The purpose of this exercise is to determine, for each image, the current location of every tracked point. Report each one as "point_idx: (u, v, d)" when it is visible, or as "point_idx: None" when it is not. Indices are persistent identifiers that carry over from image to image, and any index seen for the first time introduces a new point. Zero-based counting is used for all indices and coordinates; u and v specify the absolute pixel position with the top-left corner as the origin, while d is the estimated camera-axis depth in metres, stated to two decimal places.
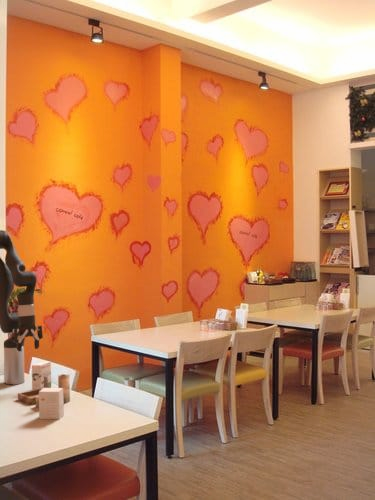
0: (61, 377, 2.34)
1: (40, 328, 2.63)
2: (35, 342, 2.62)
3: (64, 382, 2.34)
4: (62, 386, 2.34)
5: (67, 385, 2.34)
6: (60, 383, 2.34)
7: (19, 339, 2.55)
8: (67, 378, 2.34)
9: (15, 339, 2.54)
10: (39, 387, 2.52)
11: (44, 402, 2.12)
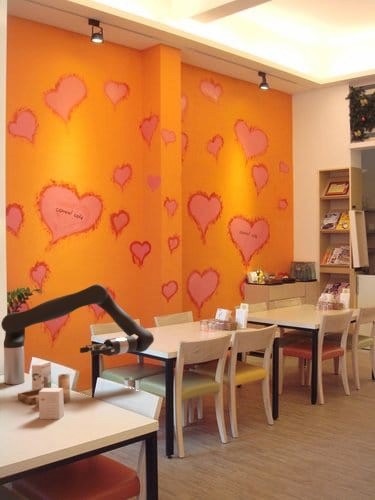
0: (61, 377, 2.34)
1: (95, 349, 2.54)
2: (86, 349, 2.48)
3: (64, 382, 2.34)
4: (62, 386, 2.34)
5: (67, 385, 2.34)
6: (60, 383, 2.34)
7: (102, 353, 2.44)
8: (67, 378, 2.34)
9: None
10: (39, 387, 2.52)
11: (44, 402, 2.12)
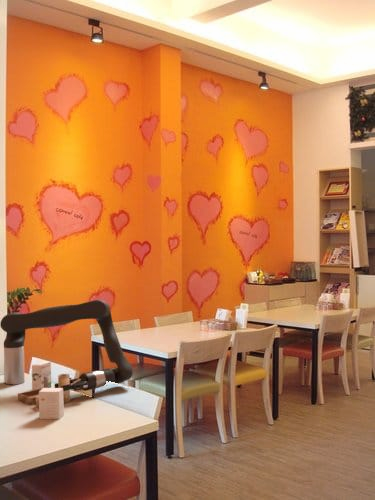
0: (61, 377, 2.34)
1: (69, 384, 2.44)
2: None
3: (64, 382, 2.34)
4: None
5: None
6: (60, 383, 2.34)
7: None
8: (67, 378, 2.34)
9: (76, 389, 2.34)
10: (39, 387, 2.52)
11: (44, 402, 2.12)
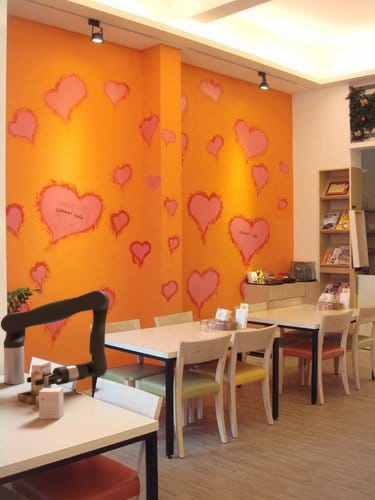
0: (34, 374, 2.37)
1: (43, 378, 2.48)
2: None
3: (37, 379, 2.37)
4: None
5: None
6: (33, 380, 2.37)
7: None
8: (40, 375, 2.38)
9: None
10: None
11: (44, 402, 2.12)
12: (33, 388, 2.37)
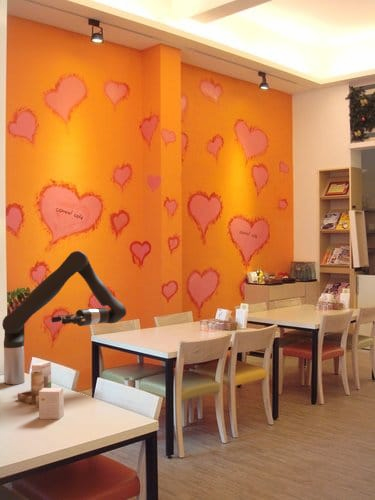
0: (33, 374, 2.37)
1: None
2: (58, 319, 2.53)
3: (37, 379, 2.37)
4: (34, 383, 2.37)
5: (39, 382, 2.38)
6: (33, 380, 2.37)
7: (73, 323, 2.49)
8: (40, 375, 2.38)
9: None
10: None
11: (44, 402, 2.12)
12: (33, 388, 2.37)
